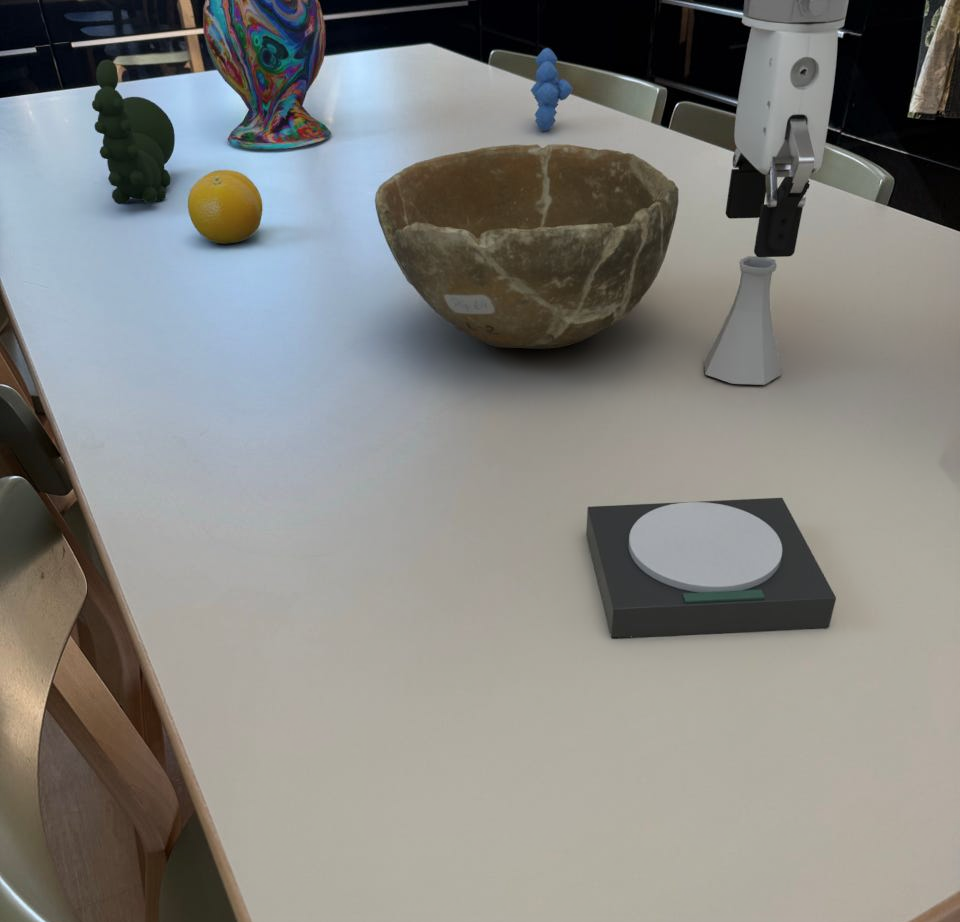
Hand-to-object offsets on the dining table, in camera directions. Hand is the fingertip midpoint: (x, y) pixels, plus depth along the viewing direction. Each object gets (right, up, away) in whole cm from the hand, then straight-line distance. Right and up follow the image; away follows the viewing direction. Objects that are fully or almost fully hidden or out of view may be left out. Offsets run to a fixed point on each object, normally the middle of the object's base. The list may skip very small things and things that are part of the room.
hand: (757, 235), depth 87 cm
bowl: (-19, -5, +14) cm, 24 cm away
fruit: (-55, +15, +40) cm, 69 cm away
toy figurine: (-71, +28, +56) cm, 94 cm away
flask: (+1, -10, +8) cm, 12 cm away
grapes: (-12, +48, +79) cm, 93 cm away
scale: (-9, -30, -17) cm, 36 cm away
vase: (-56, +47, +78) cm, 107 cm away
